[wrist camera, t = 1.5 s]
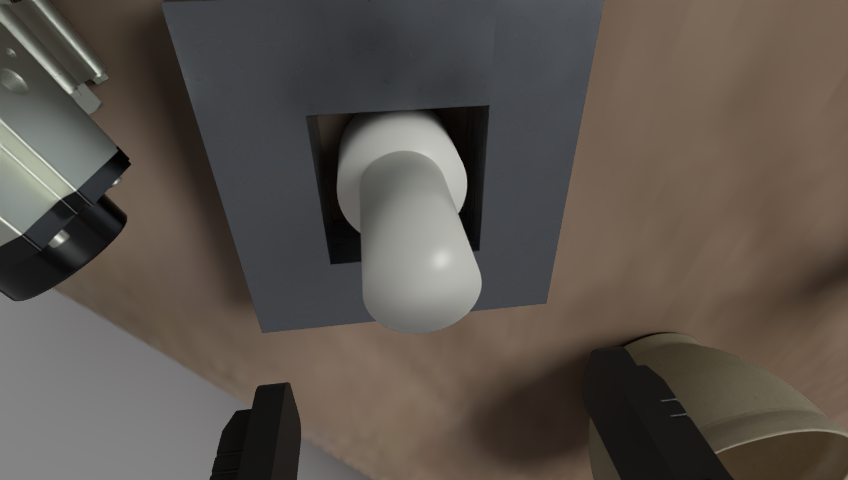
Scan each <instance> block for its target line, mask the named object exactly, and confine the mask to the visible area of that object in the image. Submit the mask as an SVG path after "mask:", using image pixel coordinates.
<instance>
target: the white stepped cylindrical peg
mask: <svg viewBox="0 0 848 480" xmlns="http://www.w3.org/2000/svg"><path fill="white" fill-rule="evenodd" d="M466 191H467V177H466V171H465V168H464V165H463V163H462V161H461V159H460V157H459V155H458V152H457V150H456V148H455V146H454V144H453V142H452V140H451V138H450V136H449V134H448V132H447V130H446V128H445V126H444V124H443V123H442V121H441V120H440V119H439V118H438V117H437V115H436V114H434V113H433V112H432V111H431V110H429V109H414V110H396V111H379V112H361V113H358V114H356V115H355V116H354V117H353V118H352V120H351V121H350V122H349V124H348V125H347V126H346V128H345V130H344V132H343V134H342V137H341V140H340V145H339V157H338V175H337V197H338V202H339V205H340V208H341V211H342V213H343V214H344V216H345V218H346V219H347V221H348V222H349V223H350V224H351V225H352V226H353V227H354V228H355V229H356V230H357V231H358V232H360V233H361V259H362V290H363V301H364V304H365V307H366V309H367V310H368V312H369V314H370V315H371V316H372V317H373V318H374V319H375V320H376V321H377V322H378V323H380V324H381V325H383V326H385V327H387V328H389V329H392V330H395V331H398V332H403V333H413V334H419V333H428V332H433V331H437V330H440V329H443V328H446V327H448V326H450V325H452V324H454V323H455V322H457V321H459V320H460V319H461V318H463V317H464V316H465V315H466V314H467V313H468V312H469V311H470V310H471V309H472V308H473V306H474V305H475V303H476V301H477V299H478V297H479V294H480V291H481V285H482V281H481V274H480V271H479V268H478V266H477V263H476V260H475V258H474V255H473V252H472V250H471V247H470V244H469V242H468V239H467V236H466V234H465V231H464V228H463V226H462V223H461V220H460V218H459V215H458V213H459V211H460V210H461V208H462V205H463V203H464V200H465V197H466Z"/></svg>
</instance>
